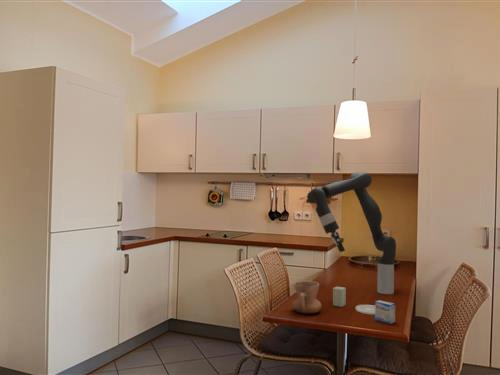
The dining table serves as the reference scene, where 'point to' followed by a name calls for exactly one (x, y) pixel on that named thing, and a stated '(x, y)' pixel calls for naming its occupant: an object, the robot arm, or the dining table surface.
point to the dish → (366, 309)
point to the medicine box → (385, 311)
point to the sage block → (339, 296)
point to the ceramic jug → (306, 297)
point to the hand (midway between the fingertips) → (342, 251)
